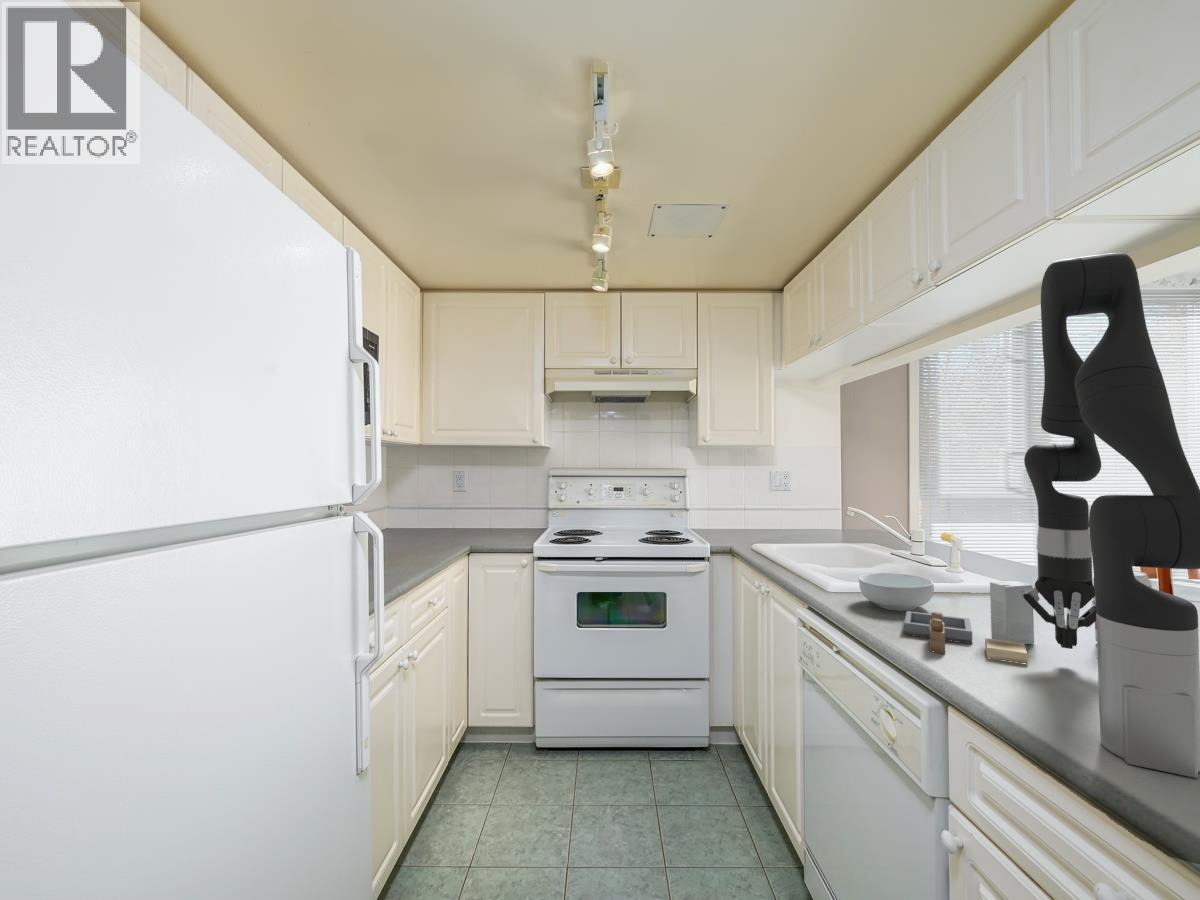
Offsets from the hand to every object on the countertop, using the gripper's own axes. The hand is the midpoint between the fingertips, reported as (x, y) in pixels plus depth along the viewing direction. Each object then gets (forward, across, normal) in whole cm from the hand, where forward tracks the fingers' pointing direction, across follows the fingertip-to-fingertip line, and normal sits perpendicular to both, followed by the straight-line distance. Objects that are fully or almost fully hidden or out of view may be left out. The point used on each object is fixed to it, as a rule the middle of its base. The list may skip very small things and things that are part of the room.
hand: (1066, 646), depth 98 cm
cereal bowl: (+4, -29, +28) cm, 40 cm away
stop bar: (+3, -20, 0) cm, 20 cm away
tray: (+3, -20, +10) cm, 22 cm away
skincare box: (+4, -7, +10) cm, 12 cm away
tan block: (+4, -9, 0) cm, 10 cm away
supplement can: (+4, +11, +16) cm, 19 cm away
